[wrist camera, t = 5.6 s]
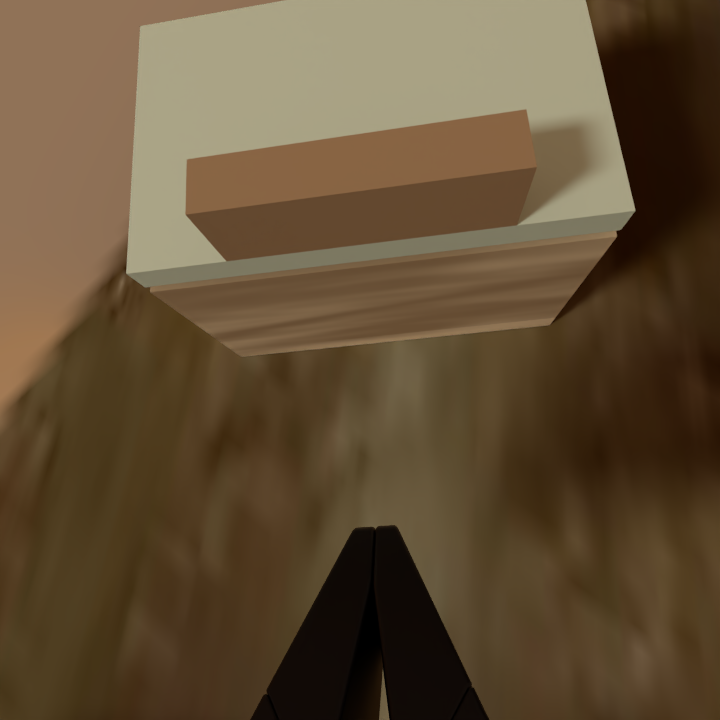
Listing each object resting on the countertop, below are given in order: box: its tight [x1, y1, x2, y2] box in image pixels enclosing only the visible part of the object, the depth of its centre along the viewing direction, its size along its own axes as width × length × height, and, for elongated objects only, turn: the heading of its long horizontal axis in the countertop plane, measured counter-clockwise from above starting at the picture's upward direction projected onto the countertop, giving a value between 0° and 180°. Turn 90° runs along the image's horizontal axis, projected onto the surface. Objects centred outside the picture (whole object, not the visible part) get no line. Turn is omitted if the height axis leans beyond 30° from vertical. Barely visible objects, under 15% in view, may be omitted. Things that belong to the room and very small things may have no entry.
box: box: [150, 231, 617, 357], centre depth 20 cm, size 9×14×8 cm, turn 94°
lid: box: [126, 0, 635, 287], centre depth 14 cm, size 9×14×4 cm, turn 94°
